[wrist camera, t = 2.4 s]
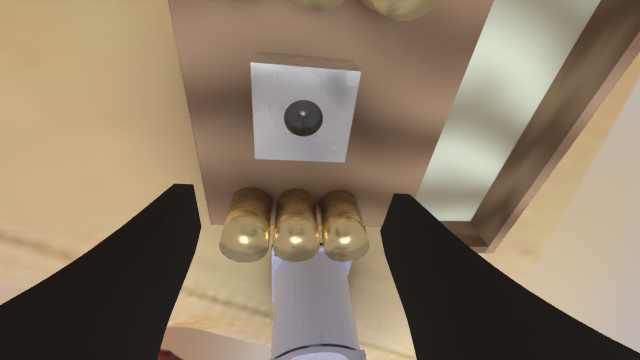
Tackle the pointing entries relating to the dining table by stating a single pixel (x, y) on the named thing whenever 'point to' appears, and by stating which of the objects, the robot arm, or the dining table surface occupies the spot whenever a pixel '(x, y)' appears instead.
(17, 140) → the dining table surface
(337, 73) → the square block with knob
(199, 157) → the tray
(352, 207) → the spacers
